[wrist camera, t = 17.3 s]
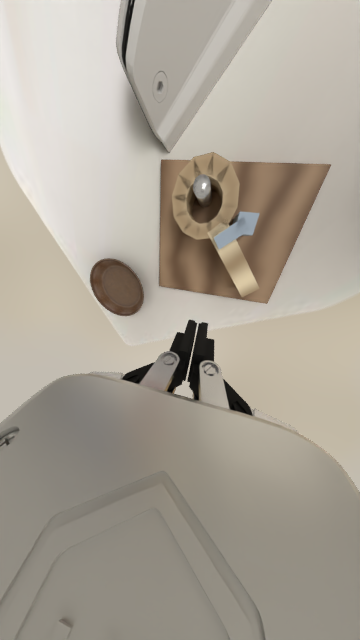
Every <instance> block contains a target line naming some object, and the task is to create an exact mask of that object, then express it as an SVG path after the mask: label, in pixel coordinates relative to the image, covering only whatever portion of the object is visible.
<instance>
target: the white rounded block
mask: <svg viewBox="0 0 360 640" xmlns="http://www.w3.org/2000/svg"><path fill="white" fill-rule="evenodd" d="M271 1H272V0H121V3H120V10H119V17H118V27H117V37H116V47H117V53H118V56H119V59H120V62H121V64H122V67H123V69H124V72H125V74H126V76H127V78H128V80H129V83H130V85H131V87H132V89H133V91H134V93H135V96H136V98H137V100H138V102H139V104H140V107H141V109H142V111H143V113H144V115H145V117H146V120H147V122H148V124H149V126H150V128H152V130H153V132H154V134H155V136H156V137H157V138H158V139H159V140H160V141H161V142H162V143H163V144H164V146H165V148H166V149H167V151H168V152H169V153H170V151H171V150H172V148H173V147H174V145H175V144H176V142H177V141H178V139H179V138H180V136H181V135H182V133H183V132H184V130H185V129H186V127H187V126H188V124H189V123H190V122H191V120H192V119H193V117H194V116H195V114H196V113H197V111H198V110H199V108H200V107H201V105H202V104H203V102H204V101H205V99H206V98H207V96H208V95H209V93H210V92H211V90H212V89H213V87H214V86H215V84H216V83H217V81H218V80H219V78H220V77H221V75H222V74H223V72H224V71H225V69H226V68H227V67H228V65H229V64H230V62H231V61H232V59H233V58H234V56H235V55H236V53H237V52H238V50H239V49H240V47H241V46H242V44H243V43H244V41H245V40H246V38H247V37H248V35H249V34H250V32H251V31H252V29H253V28H254V26H255V25H256V23H257V22H258V20H259V19H260V17H261V16H262V15H263V13H264V12H265V10H266V9H267V7H268V6H269V4H270V3H271Z"/></svg>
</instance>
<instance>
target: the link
mask: <svg viewBox="0 0 360 640" xmlns="http://www.w3.org/2000/svg"><path fill="white" fill-rule="evenodd" d="M201 174H205V175H207V176H208V177H209V179H210V185H211V190H212V191H214V192H216V193H218V195H219V197H220V199H221V202H222V203H221V209H220V211H219V213H218V215H217V216H216V217H215V218H214V219H213V220H211V221H210V222H209V223H202V224H199V223H197V222H196V221H195V220H194V218H193V214H192V206H193V203H194V201H195V198H196V195H195V193H194V191H193V184H194V181H195V179H196V178H197V176H199V175H201ZM239 184H240V183H239V180H238V178H237V176H236V173H235V171H234V168H233V166H232V163H231V162H230V161H228V160H226V159H225V158H223V157H221V156H219V155H218V154H216V153H214V152H212V153H208V154H204V155H200V156H197V157H193V159H192V160H191V161H190V162H189V163H188V164H187V165H186V166H185V168H184V169H183V170H182V171H181V172H180V173H179V174H178V178H177V181H176V184H175V188H174V191H173V194H172V203H173V213H174V218H175V220H176V222H177V223H178V225H179V227H180V228H181V230H182V232H183V233H185V234H187V235H189V236H191V237H193V238H194V239H196V240H199V239H208V238H210V239H211V241H212V243H213V245H214V246H215V248H216V250H217V252H218V254H219V256H220V258H221V259H222V261H223V263H224V265H225V267H226V269H227V271H228V272H229V274H230V276H231V278H232V280H233V282H234V284H235V285H236V287H237V289H238V291H239V293H240V295H241V297H244V296H246V295H248V294H250V293H252V292H254V291H256V290H258V289H260V288H259V286H258V284H257V282H256V280H255V278H254V276H253V274H252V272H251V270H250V268H249V265H248V263H247V261H246V259H245V257H244V255H243V253H242V251H241V249H240V247H239V245H238V242H237V240H236V239H235V240H233V241H232V242H230V243H229V244H227V245H226V246H224V247H222V248H221V249H219V248H218V246H217V244H216V242H215V240H214V237H215V236H217V235H218V234H220V233H221V232H223V231H224V230H225V229H227V228H228V227H230V226H229V222H230V220H231V219H232V217H233V215H234V213H235V211H236V209H237V207H238V196H239Z"/></svg>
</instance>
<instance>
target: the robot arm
mask: <svg viewBox="0 0 360 640" xmlns="http://www.w3.org/2000/svg"><path fill="white" fill-rule="evenodd" d="M196 326H197V323H195V321H193V320H189V321H188V324H187V327H186V330H185V333H180V332H177V334H176V336H175V339H174V341H173V343H172V346H171V348H170V351H167V352H164V353H162V354H161V355H160V356H159V357H158V359H157V360H156V362H154V363H151V364H149V365H147V366H144V367H141V368H139V369H136V370H134V371H131V372H129V373H127V374H125V375H124V374H123V373H115V372H91V373H88V374H75V375H74V374H73V375H68V376H64V377H61V378H59V379H57V380H55V381H53V382H52V383H50V384H48V385H47V386H45V387H44V388H43V389H41V390H40V391H39V392H37V393H36V394H35V395H33V396H32V397H31V398H30V399H28V400H27V401H26V402H25V403H23V404H22V405H21V406H20V407H19V408H18V409H16V410H15V411H14V412H13V413H12V414H11V415H9V416H8V417H7V418H6V419H5V420H3V421H2V422H1V423H0V640H360V492H359V490H358V489H357V487H356V486H355V484H354V482H353V481H352V480H351V478H350V477H349V476H348V474H347V473H346V471H345V470H344V469H343V468H342V466H341V465H340V464H339V463H338V462H337V461H336V460H335V459H334V458H333V457H332V456H331V455H330V454H329V453H327V452H326V451H325V450H324V449H322V448H321V447H319V446H318V445H317V444H315V443H314V442H312V441H311V440H309V439H307V438H306V437H304V436H303V435H301V434H299V433H298V432H297V431H296V430H295V429H294V428H293V427H291V426H290V425H288V424H286V423H284V422H282V421H280V420H277V419H276V418H273V417H271V416H269V415H267V414H265V413H263V412H261V411H259V410H257V409H254V410H253V409H251V408H250V407H249V406H248V404H247V403H246V402H245V401H244V400H243V399H242V398H241V397H240V396H239V395H238V394H237V393H236V392H235V390H234V389H233V388H232V387H231V386H230V385H229V384H228V383H227V382H226V381H225V380H224V379H223V377H222V372H221V369H220V367H219V365H218V364H216V363H215V362H214V340H213V339H208V338H206V337H207V327H208V323H203V322H202V323H201V324H200V323H199V326H198V331H197V336H196V341H195V345H194V350H193V356H192V361H191V366H190V371H189V377H188V382H190V386H189V387H190V388H191V390H192V391H193V399H191V398H187V397H184V396H180V395H176V394H174V392H175V389H176V387H177V386H179V385H181V384H182V381H183V380H184V381H185V380H186V375H187V370H188V366H189V361H190V357H191V352H192V347H193V342H194V337H195V331H196Z"/></svg>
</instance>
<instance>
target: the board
mask: <svg viewBox="0 0 360 640" xmlns="http://www.w3.org/2000/svg"><path fill="white" fill-rule="evenodd" d="M190 161H191V160H161V211H160V282H159V286H163V287H169V288H175V289H181V290H187V291H193V292H199V293H205V294H211V295H217V296H223V297H230V298H236V299H242V300H248V301H254V302H260V303H266V304H267V303H268V301H269V299H270V296H271V294H272V292H273V290H274V288H275V286H276V283H277V281H278V279H279V277H280V275H281V273H282V270H283V268H284V266H285V264H286V262H287V260H288V257H289V255H290V253H291V251H292V249H293V247H294V244H295V242H296V240H297V238H298V236H299V234H300V231H301V229H302V227H303V225H304V223H305V221H306V218H307V216H308V214H309V212H310V210H311V207H312V205H313V203H314V201H315V199H316V197H317V194H318V192H319V190H320V188H321V186H322V184H323V181H324V179H325V177H326V175H327V173H328V171H329V168H330V166H331V164H297V163H263V162H231V163H232V166H233V168H234V171H235V173H236V176H237V178H238V180H239V183H240V184H239V196H238V207H237V209H236V211H235V213H234V215H233V217H232V219H231V220H230V222H229V226H231V225H232V224H233V220H234V218H235V217H236V215H237V214H238V213H239V212H252V213H259V217H258V220H257V223H256V226H255V229H254V233H253V235H250V236H240V237H238V238H237V239H236V240H237V242H238V245H239V247H240V249H241V251H242V253H243V255H244V257H245V259H246V261H247V263H248V265H249V268H250V270H251V272H252V274H253V276H254V278H255V280H256V282H257V284H258V286H259V288H260V289H258V290H256V291H254V292H252V293H250V294H248V295H246V296H244V297H241V295H240V293H239V291H238V289H237V287H236V285H235V284H234V282H233V280H232V278H231V276H230V274H229V272H228V271H227V269H226V267H225V265H224V263H223V261H222V259H221V258H220V256H219V254H218V252H217V250H216V248H215V246H214V245H213V243H212V241H211V239H210V238H208V239H199V240H196V239H194V238H193V237H191V236H189V235H187V234H185V233H183V232H182V230H181V228H180V227H179V225H178V223H177V222H176V220H175V218H174V213H173V203H172V194H173V191H174V188H175V184H176V181H177V178H178V174H179V173H180V172H181V171H182V170H183V169H184V168H185V166H186V165H187V164H188V163H189V162H190ZM211 194H212V201H211V203H210V205H209V206H207V207H202V206H201V205H200V204H199V202H198V199H197V197H196V198H195V201H194V203H193V206H192V214H193V218H194V220H195V221H196V222H197V223H199V224H202V223H209V222H210V221H211V220H213V219H214V218H215V217H216V216H217V215H218V213H219V211H220V209H221V203H222V202H221V199H220V197H219V195H218V193H216V192H214V191H212V190H211Z"/></svg>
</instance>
